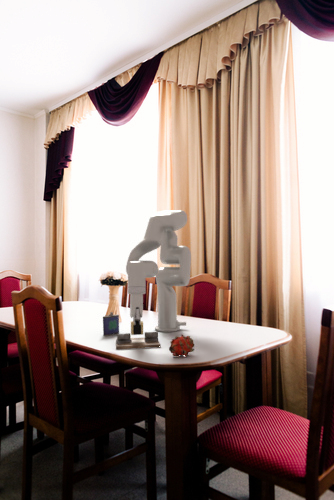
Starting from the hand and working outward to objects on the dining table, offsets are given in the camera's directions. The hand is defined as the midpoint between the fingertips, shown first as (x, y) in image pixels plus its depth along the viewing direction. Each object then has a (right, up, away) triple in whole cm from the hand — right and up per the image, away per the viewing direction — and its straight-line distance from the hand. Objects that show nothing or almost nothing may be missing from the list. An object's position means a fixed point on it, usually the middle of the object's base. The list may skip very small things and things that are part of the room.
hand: (136, 333), depth 160 cm
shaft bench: (0, -5, 0) cm, 5 cm away
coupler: (0, 0, 0) cm, 0 cm away
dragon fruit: (+18, -5, -19) cm, 27 cm away
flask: (-14, -6, +21) cm, 26 cm away
